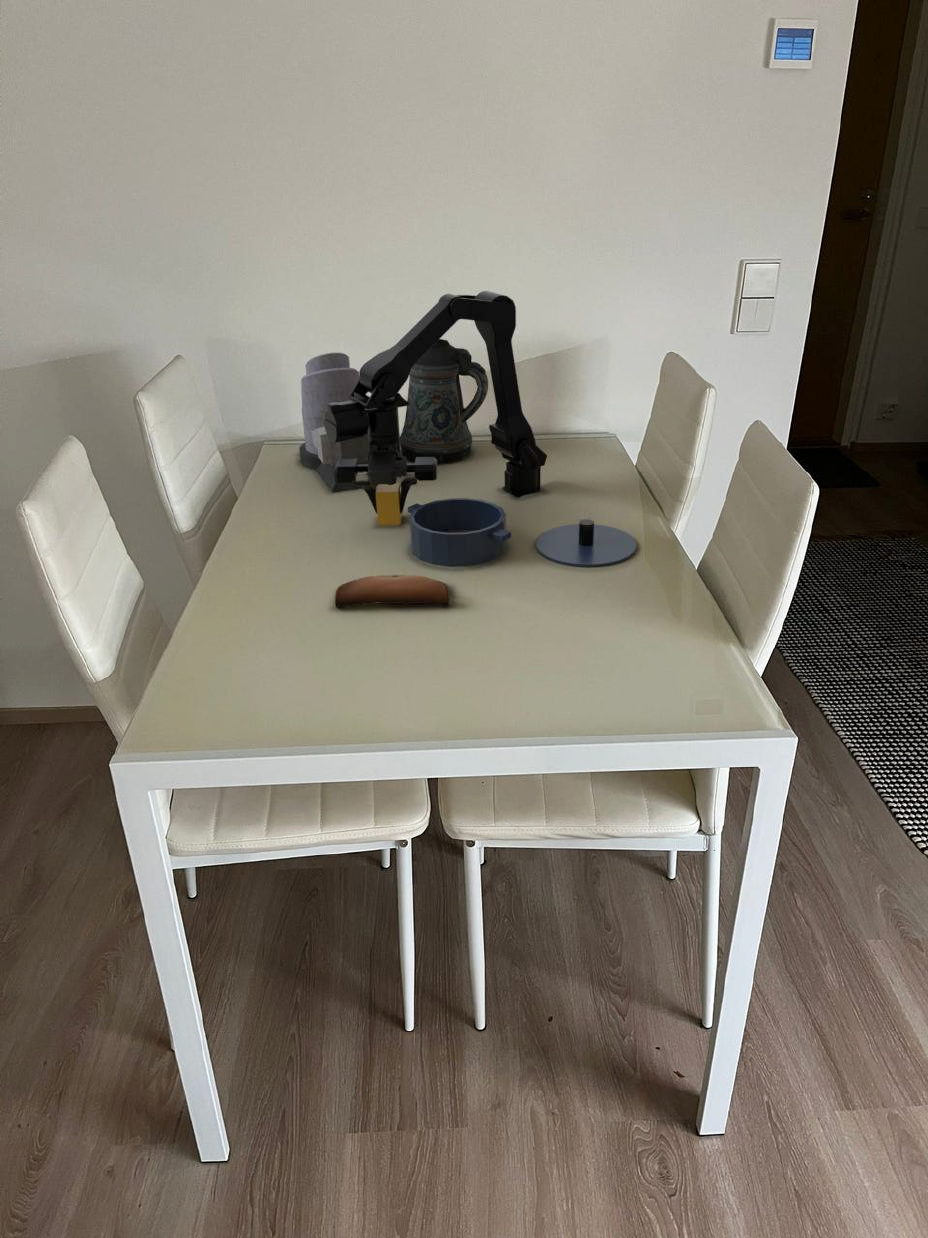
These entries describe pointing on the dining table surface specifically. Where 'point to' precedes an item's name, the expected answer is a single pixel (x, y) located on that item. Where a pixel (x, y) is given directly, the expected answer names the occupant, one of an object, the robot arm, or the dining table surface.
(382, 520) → the block
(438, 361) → the beer stein
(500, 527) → the pot
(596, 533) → the lid
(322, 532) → the dining table surface
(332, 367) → the juicer
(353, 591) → the sunglasses case
